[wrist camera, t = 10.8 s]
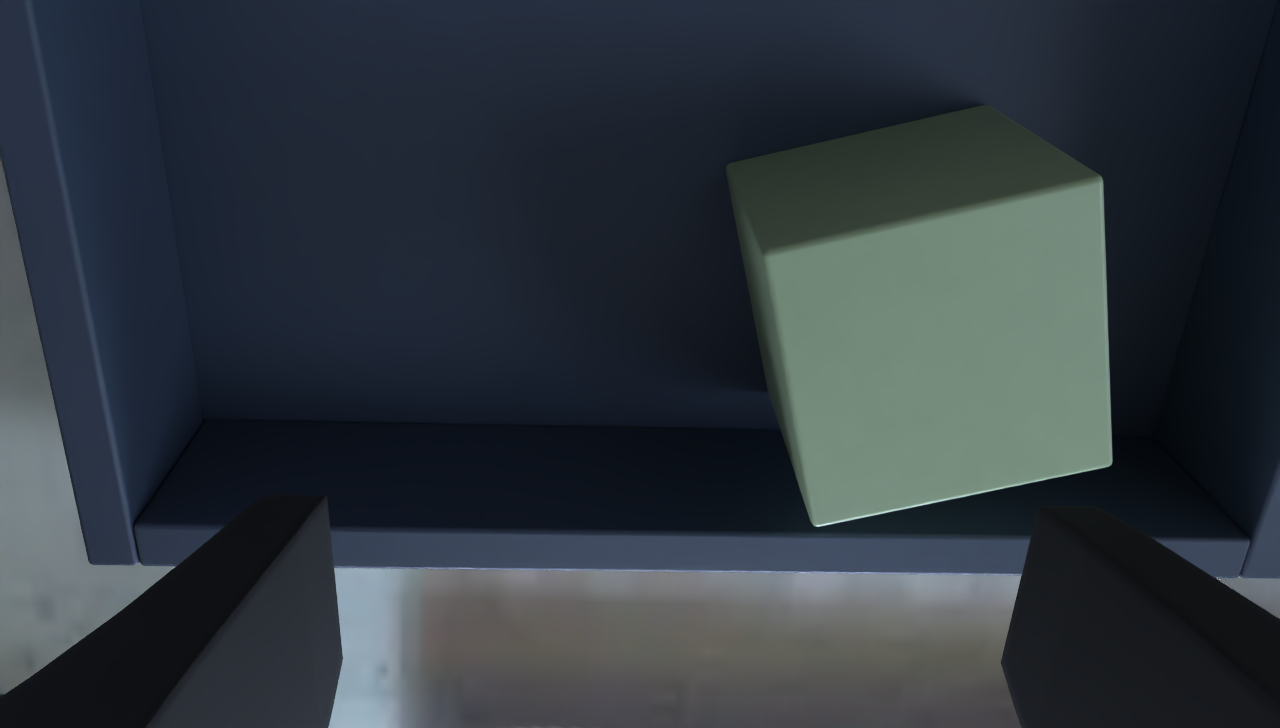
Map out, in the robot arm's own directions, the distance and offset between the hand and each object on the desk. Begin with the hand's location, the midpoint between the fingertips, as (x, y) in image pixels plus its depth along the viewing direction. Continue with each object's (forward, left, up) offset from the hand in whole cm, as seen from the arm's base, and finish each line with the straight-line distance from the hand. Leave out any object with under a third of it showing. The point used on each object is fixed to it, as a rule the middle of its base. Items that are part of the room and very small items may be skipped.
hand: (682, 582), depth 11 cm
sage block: (+4, +1, -9) cm, 10 cm away
